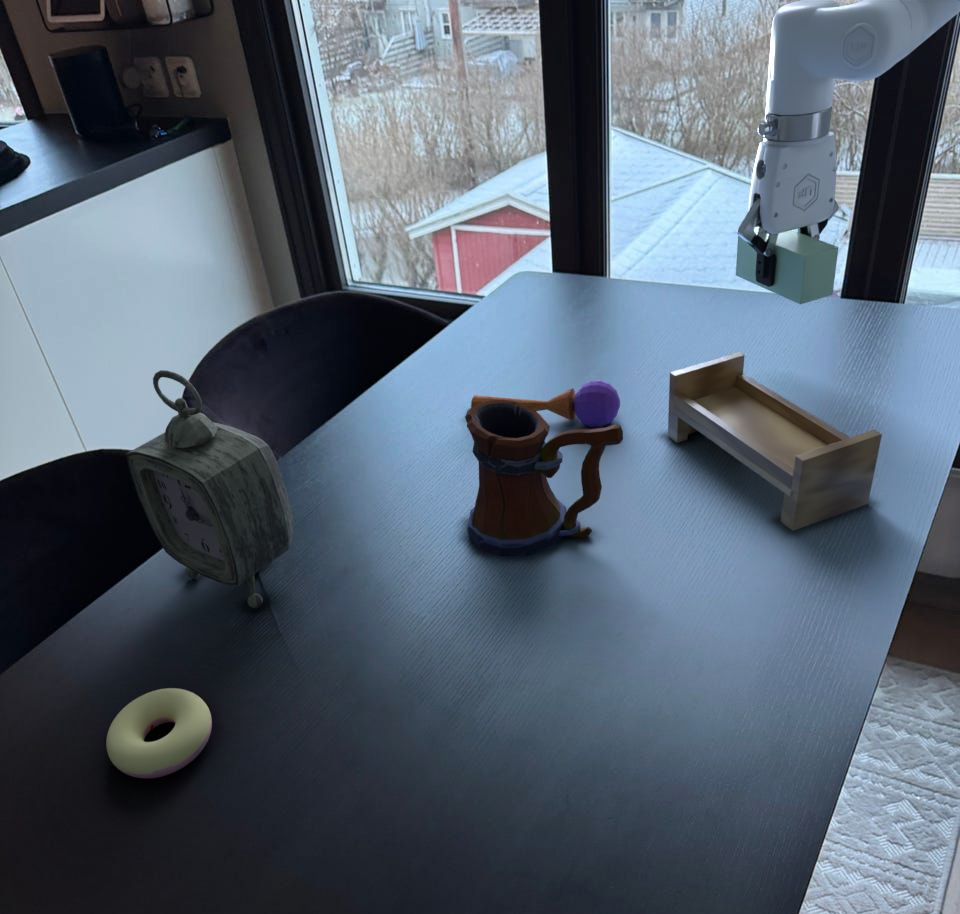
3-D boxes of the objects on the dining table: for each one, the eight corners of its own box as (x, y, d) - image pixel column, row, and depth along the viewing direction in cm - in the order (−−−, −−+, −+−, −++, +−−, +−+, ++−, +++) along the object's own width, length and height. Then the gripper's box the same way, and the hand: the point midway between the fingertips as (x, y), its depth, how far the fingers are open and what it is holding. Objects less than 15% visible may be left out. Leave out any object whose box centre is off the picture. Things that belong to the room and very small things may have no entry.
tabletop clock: (172, 581, 104) (89, 375, 88) (232, 541, 110) (163, 339, 93) (256, 622, 97) (183, 406, 81) (316, 577, 102) (258, 365, 86)
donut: (223, 719, 89) (125, 721, 89) (217, 679, 87) (117, 681, 86) (205, 785, 81) (96, 788, 80) (198, 744, 78) (86, 746, 78)
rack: (733, 417, 120) (739, 351, 114) (867, 506, 101) (882, 433, 96) (667, 438, 117) (669, 372, 111) (792, 533, 99) (802, 460, 93)
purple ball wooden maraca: (479, 380, 127) (622, 374, 120) (484, 422, 130) (624, 418, 123) (465, 392, 122) (613, 386, 115) (470, 435, 125) (615, 432, 118)
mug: (634, 516, 105) (635, 394, 95) (608, 575, 97) (607, 449, 87) (488, 499, 111) (475, 383, 101) (452, 553, 103) (435, 433, 93)
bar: (765, 266, 128) (769, 221, 124) (832, 295, 117) (838, 246, 114) (735, 275, 127) (738, 230, 123) (800, 304, 116) (805, 256, 112)
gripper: (756, 145, 105) (745, 302, 117) (876, 115, 109) (854, 270, 121) (718, 135, 111) (711, 286, 122) (834, 107, 115) (817, 256, 126)
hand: (783, 276), depth 121 cm, fingers closed on bar, 5 cm apart
